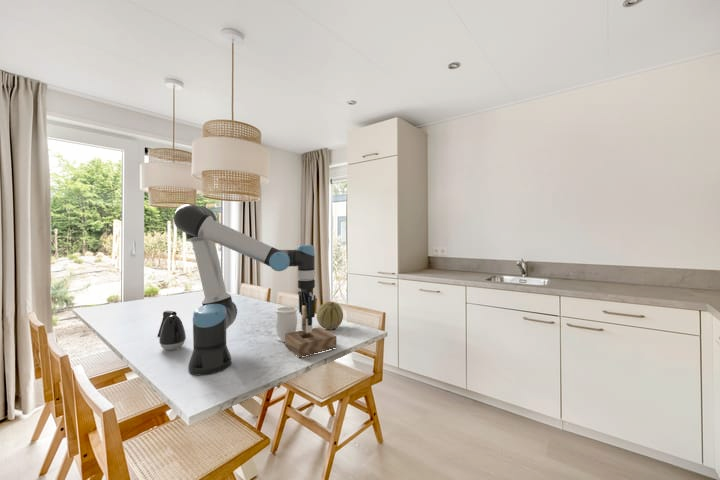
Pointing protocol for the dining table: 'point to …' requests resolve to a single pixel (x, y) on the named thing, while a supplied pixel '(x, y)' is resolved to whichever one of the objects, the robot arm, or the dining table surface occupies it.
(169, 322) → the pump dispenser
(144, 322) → the dining table surface
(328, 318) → the cantaloupe
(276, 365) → the dining table surface
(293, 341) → the wooden block with hole
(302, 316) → the peg
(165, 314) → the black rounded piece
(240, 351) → the dining table surface
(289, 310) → the jar
